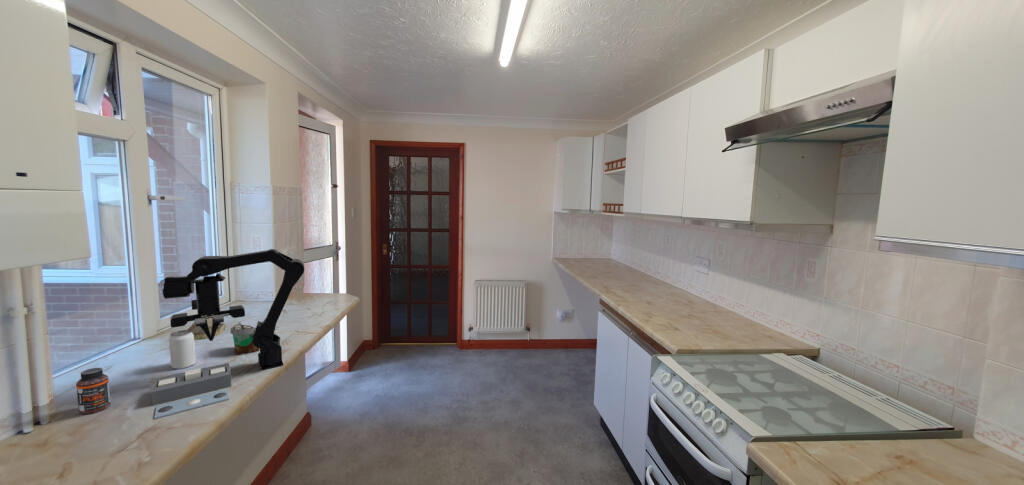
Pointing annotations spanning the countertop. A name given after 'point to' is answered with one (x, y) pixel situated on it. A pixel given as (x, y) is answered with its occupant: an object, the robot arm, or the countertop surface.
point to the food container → (243, 338)
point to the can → (182, 349)
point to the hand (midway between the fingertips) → (211, 340)
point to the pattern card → (191, 403)
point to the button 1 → (167, 382)
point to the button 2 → (217, 370)
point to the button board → (190, 385)
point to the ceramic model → (200, 333)
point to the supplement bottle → (93, 391)
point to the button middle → (193, 374)
